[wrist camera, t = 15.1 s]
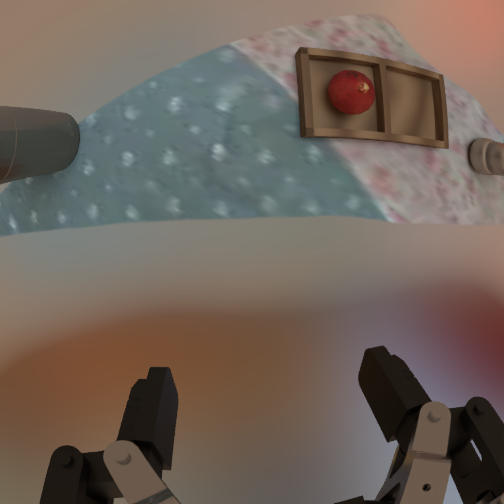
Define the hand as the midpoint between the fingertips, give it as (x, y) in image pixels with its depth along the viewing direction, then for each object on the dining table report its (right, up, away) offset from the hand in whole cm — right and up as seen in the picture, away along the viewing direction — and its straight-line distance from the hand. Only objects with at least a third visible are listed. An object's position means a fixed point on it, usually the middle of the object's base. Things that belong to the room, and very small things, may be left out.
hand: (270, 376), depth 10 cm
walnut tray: (+17, +26, +22) cm, 38 cm away
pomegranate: (+11, +26, +22) cm, 35 cm away
